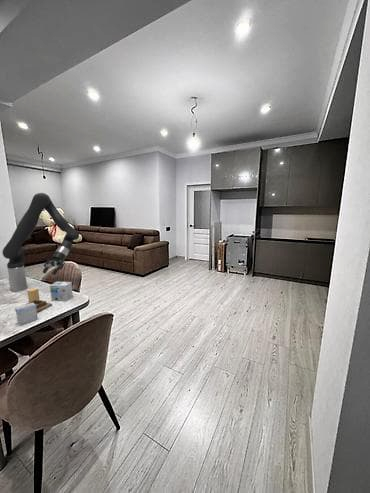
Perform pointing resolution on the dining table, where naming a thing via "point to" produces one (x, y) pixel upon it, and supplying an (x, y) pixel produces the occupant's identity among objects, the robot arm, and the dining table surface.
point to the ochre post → (33, 294)
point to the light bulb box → (61, 291)
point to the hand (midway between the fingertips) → (48, 273)
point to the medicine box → (26, 313)
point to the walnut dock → (40, 305)
